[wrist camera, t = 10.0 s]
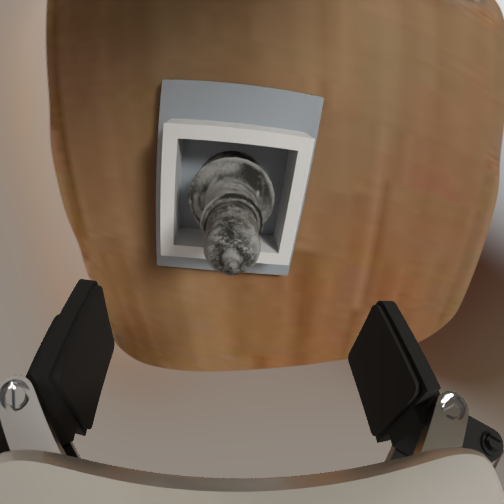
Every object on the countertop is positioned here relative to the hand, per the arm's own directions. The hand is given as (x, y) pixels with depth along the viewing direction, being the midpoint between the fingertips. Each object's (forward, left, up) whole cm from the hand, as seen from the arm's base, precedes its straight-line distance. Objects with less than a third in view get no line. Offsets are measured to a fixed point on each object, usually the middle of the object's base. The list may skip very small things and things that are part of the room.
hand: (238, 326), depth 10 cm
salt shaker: (0, 0, -16) cm, 16 cm away
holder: (0, 0, -17) cm, 17 cm away
